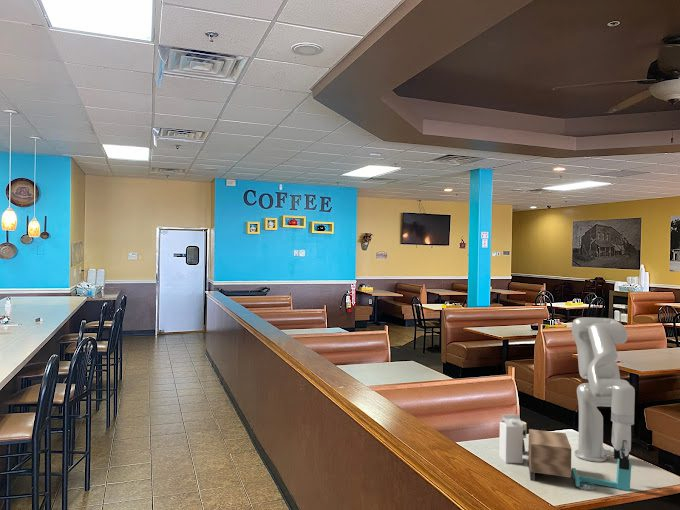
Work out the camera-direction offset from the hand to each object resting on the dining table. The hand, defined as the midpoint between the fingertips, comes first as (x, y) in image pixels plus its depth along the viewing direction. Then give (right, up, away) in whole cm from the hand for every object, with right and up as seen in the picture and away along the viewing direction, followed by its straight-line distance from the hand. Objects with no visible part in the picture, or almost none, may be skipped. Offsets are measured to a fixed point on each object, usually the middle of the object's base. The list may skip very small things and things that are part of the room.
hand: (621, 463), depth 192 cm
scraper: (-7, -8, +1) cm, 11 cm away
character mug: (-26, -9, +35) cm, 45 cm away
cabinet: (-23, -8, +10) cm, 26 cm away
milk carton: (-33, -9, +25) cm, 42 cm away
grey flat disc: (-14, -9, -1) cm, 16 cm away
